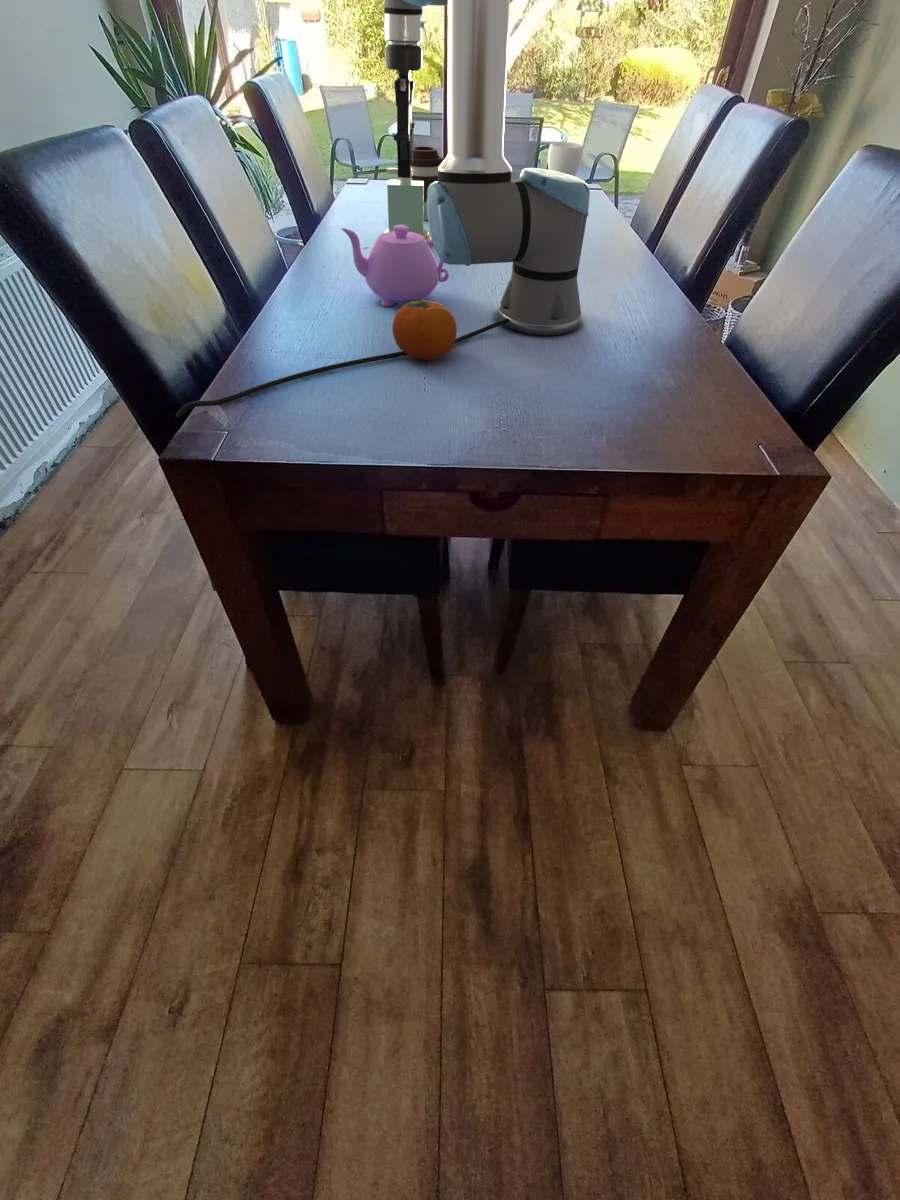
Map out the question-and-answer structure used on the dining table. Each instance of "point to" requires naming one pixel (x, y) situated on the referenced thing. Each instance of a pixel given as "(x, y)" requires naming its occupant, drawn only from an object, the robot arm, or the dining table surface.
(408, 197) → the soap bottle
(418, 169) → the coffee cup
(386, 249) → the teapot
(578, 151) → the cup
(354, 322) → the dining table surface
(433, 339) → the fruit
